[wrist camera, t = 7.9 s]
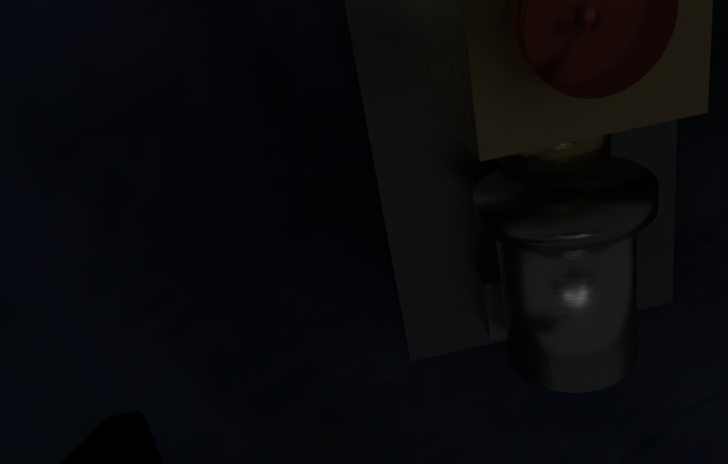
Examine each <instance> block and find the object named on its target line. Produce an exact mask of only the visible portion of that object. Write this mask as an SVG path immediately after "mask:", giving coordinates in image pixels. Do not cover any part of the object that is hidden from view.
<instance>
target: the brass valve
mask: <svg viewBox="0 0 728 464" xmlns="http://www.w3.org/2000/svg"><path fill="white" fill-rule="evenodd" d="M416 5H417V12H418V19H419V27H420V34H421V41H422V48H423V56H424V63H425V70H426V77H427V85H428V92H429V99H430V102H431V103H432V105H433V106H434V107H435V108H436V110H437V111H438V112H439V113H440V114H441V116H442V117H443V118H444V119H445V120H446V122H447V123H448V124H449V125H450V126H451V128H452V129H453V130H454V131H455V132H456V134H457V135H458V136H459V137H460V138H461V140H462V141H463V142H464V143H465V144H466V146H467V147H468V148H469V149H470V150H471V152H472V153H473V154H474V155H475V156H476V158H477V159H478V160H479V161H480V162H481V161H486V160H490V159H495V158H497V160H498V162H499V163H500V164H501V165H502V166H503V167H505V168H507V169H509V170H512V171H515V172H519V173H525V174H536V175H550V174H562V173H569V172H574V171H579V170H583V169H586V168H589V167H592V166H594V165H597V164H599V163H601V162H602V161H604V160H606V159H607V158H608V157H609V156H610V155H611V153H612V133H616V132H620V131H625V130H630V129H634V128H639V127H644V126H648V125H653V124H658V123H662V122H667V121H672V120H676V119H681V118H686V117H690V116H695V115H699V114H704V113H708V95H709V74H710V53H711V32H712V11H713V0H416Z"/></svg>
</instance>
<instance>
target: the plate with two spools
mask: <svg viewBox="0 0 728 464" xmlns="http://www.w3.org/2000/svg"><path fill="white" fill-rule="evenodd" d="M343 3H344V9H345V14H346V19H347V25H348V30H349V36H350V41H351V46H352V52H353V57H354V63H355V68H356V73H357V79H358V84H359V90H360V95H361V100H362V106H363V111H364V117H365V122H366V128H367V133H368V138H369V144H370V149H371V155H372V160H373V165H374V171H375V176H376V182H377V187H378V192H379V198H380V203H381V209H382V214H383V219H384V225H385V230H386V236H387V241H388V246H389V252H390V257H391V263H392V268H393V274H394V279H395V284H396V290H397V295H398V301H399V306H400V311H401V317H402V322H403V328H404V333H405V338H406V344H407V349H408V355H409V359H410V362H412V361H416V360H420V359H425V358H429V357H434V356H438V355H443V354H447V353H451V352H456V351H460V350H465V349H469V348H474V347H478V346H482V345H487V344H491V343H496V342H500V341H505V340H507V346H508V356H509V360H510V363H511V365H512V367H513V368H514V370H515V371H516V372H517V373H518V374H519V375H520V376H521V377H523V378H524V379H525V380H527V381H529V382H530V383H532V384H534V385H537V386H539V387H542V388H545V389H549V390H553V391H558V392H568V393H582V392H591V391H596V390H600V389H604V388H607V387H609V386H612V385H614V384H616V383H618V382H620V381H621V380H622V379H624V378H625V377H626V376H627V375H628V374H629V373H630V372H631V371H632V369H633V368H634V366H635V364H636V360H637V310H642V309H646V308H650V307H655V306H659V305H664V304H668V303H673V267H674V229H675V191H676V153H677V119H676V120H672V121H667V122H662V123H658V124H653V125H648V126H644V127H639V128H634V129H630V130H625V131H620V132H616V133H612V153H611V155H610V156H609V157H608V158H607V159H606V160H604V161H602V162H601V163H599V164H597V165H594V166H592V167H589V168H586V169H583V170H579V171H574V172H569V173H562V174H550V175H536V174H525V173H519V172H515V171H512V170H509V169H507V168H505V167H503V166H502V165H501V164H500V163H499V162H498V160H497V158H495V159H490V160H486V161H481V162H480V161H479V160H478V159H477V158H476V156H475V155H474V154H473V153H472V152H471V150H470V149H469V148H468V147H467V146H466V144H465V143H464V142H463V141H462V140H461V138H460V137H459V136H458V135H457V134H456V132H455V131H454V130H453V129H452V128H451V126H450V125H449V124H448V123H447V122H446V120H445V119H444V118H443V117H442V116H441V114H440V113H439V112H438V111H437V110H436V108H435V107H434V106H433V105H432V103H431V102H430V99H429V92H428V85H427V77H426V70H425V63H424V56H423V48H422V41H421V34H420V27H419V19H418V12H417V5H416V0H343Z"/></svg>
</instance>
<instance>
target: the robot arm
mask: <svg viewBox="0 0 728 464" xmlns="http://www.w3.org/2000/svg"><path fill="white" fill-rule="evenodd" d="M62 464H162V460H161V457H160V455H159V452H158V450H157V447H156V444H155V442H154V439H153V437H152V434H151V431H150V429H149V426H148V424H147V421H146V419H145V417H144V416H143V415H142V414H141V413H140V412H137V411H135V412H130V413H126V414H121V415H116V416H112V417H109V418H107V419H105V420H104V421H103V422H102V423H101V424H100V425H99V426H98V427H97V428H96V429H95V430H94V431H93V432H92V433H91V434H90V435H89V436H88V437H87V438H86V439H85V440H84V441H83V442H82V443H81V444H80V445H79V446H78V447H77V448H76V449H75V450H74V451H73V452H72V453H71V454H70V455H69V456H68V457H67V458H66V460H65V461H64V462H63V463H62Z"/></svg>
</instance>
